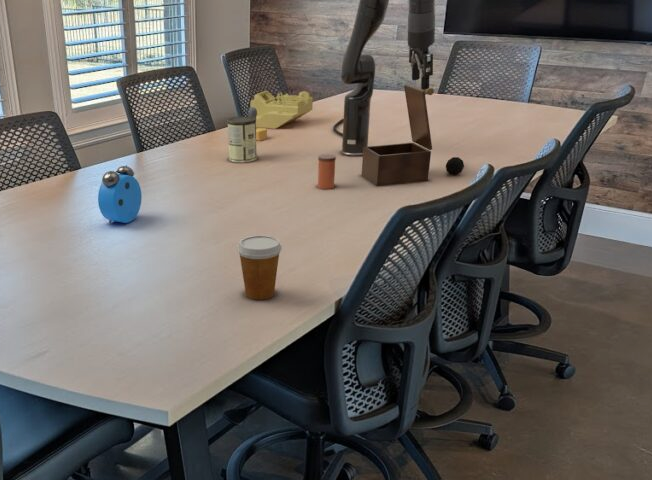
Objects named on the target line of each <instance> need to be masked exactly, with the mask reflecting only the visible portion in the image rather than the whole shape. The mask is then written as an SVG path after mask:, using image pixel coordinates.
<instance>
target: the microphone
mask: <svg viewBox="0 0 652 480" xmlns="http://www.w3.org/2000/svg"><path fill="white" fill-rule="evenodd" d="M464 164H465V163H464V160H463V159H462V158H460V157H458V156H457V157H456V156H453V157H451V158H450V159H448V160H447V162H446V164H445V169H446V172H447V173H448V174H449V175H451V176H457V175H459V174H461V173H463V170H464V167H465V165H464Z"/></svg>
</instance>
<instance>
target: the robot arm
mask: <svg viewBox="0 0 652 480" xmlns="http://www.w3.org/2000/svg"><path fill="white" fill-rule="evenodd" d="M389 3H390V0H359V2H358V6H357V10H356V16H355V19H354V23H353V28H352V31H351V34H350V38H349V41H348V44H347V46H346V49H345V52H344V54H343V59H342V61H341V66H340V78H341V81H342V82H343V84H346V85H356V86H355V88H354V89H353V90H352V91H350V92H348V93H346V94H345V96H344V99H343V100H344V102H343V118H341V119H340V120H339V121H337V122H336V123H334V125H333V131H334V132H335V134H337V135H339V136H341V137H342V143H341V154H342V155H345V156H348V157H349V156H351V157H359V156H363V147H368V146H369V134H370V133H369V132H370V131H369V130H370V119H371V118H370V117H371V102H372V101H371V100H372V97H373V94H374V85H375V77H376V62H375V58H374V57H373V56H372V55H371V54H370V53H363V51H364V50H365V47H366V45H367V44H368V42H369V41H370V40H371V38H372V37H373V36H374V35H375V33H376V32H377V31H378V30H379V29H380V27H381V25H382V24H383V22H384V20H385V17H386V14H387V10H388V8H389V7H388V6H389ZM435 5H436V0H408V17H407V46H408V47H409V49H408V63H409V64H410V67H411V80H412V81H418V80H420V89H422V90H425V89H428V88H430V76H431V77H432V76H433V75H434V54H433V53H430V51H429V47H430V46H433V44H434V43H435V40H436V39H435V38H436V11H435V9H436V8H435ZM342 122H343V124H342ZM340 124H342V132H340V131H339V130H338V129H337V127H338V126H339V125H340Z"/></svg>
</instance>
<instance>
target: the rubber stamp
mask: <svg viewBox="0 0 652 480" xmlns="http://www.w3.org/2000/svg"><path fill="white" fill-rule="evenodd" d="M248 116H249V117H254V118H256V116H257V110H256V108H254V107H251V106H250V108H248ZM266 139H268V128H262V127H256V142H257V141H258V142H259V141H263V140H266Z"/></svg>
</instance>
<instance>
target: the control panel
mask: <svg viewBox="0 0 652 480" xmlns="http://www.w3.org/2000/svg"><path fill="white" fill-rule="evenodd" d="M313 99H314V98H313V96H312V95H311V94H310V93H309V92H308V91H304V90H303V91H300V92H299V93H298V95H292V94H289V93H285V94H283V92H282V91H281V92H280V93H279V92H278V93H277V96H274V95H273V94H272V93H270V92H269V91H268V90H264V91H261V92H259V93H257V94H254V95H253V99H251V100H250V108H251V107H254V108H256V110H257V116H256V127H257V128H265V129H274V130H276V129H278V128H279V127H283V126H284V125H288V124H289V123H293V122H294V121H297V120H298V119H300V118H301V117H303V116H304V115H306V114H308V113H309V112H311V111H313V104H314V100H313Z"/></svg>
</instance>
